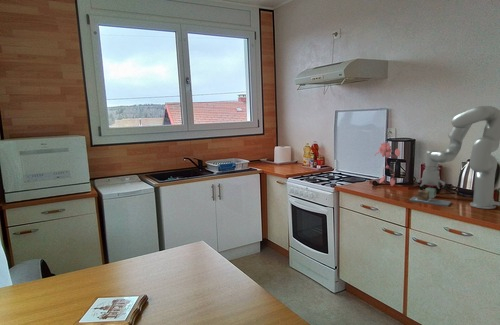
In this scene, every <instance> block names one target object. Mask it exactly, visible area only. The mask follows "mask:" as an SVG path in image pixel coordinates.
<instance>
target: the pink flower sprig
mask: <svg viewBox="0 0 500 325" xmlns="http://www.w3.org/2000/svg"><path fill="white" fill-rule="evenodd" d="M378 149H379V150H377V151H376V153H375V154H374V156H377V155H378V154H379V153H380V154H381V157H382V158H384V157H385V163H386V166H385V167H384V168H383V169H382V172H383V176H382V177H381V178H380V180H379V182H378V184H382V183H383V182H385V183H387V181H386V176H385V172H384V171H385V169H389V170H391V171H393V174H392V175H393V176H392V178H390V180H389V184H390V186H391V187H393V186H396V180H395V178H394V177H395V176H394V175H395V170H394V169H392V168H390V165H388V161H387V159H389V158H390V157H392V158H397V157H399V156H400V155H401V150H400V149H399V148H396V149H395V150H394V154H395V156H394V155H392V154H391V153H392V152H393V149H392V146H391V145H390V142H388V141H387V142H384V141H383V142H381V143H380V146H379V148H378ZM376 187H378V188H380V186H377V185H376ZM384 188H387V187H383V189H384Z"/></svg>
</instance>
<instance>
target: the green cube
mask: <svg viewBox="0 0 500 325" xmlns="http://www.w3.org/2000/svg"><path fill="white" fill-rule="evenodd" d="M424 190H425V191H429V199H435V198H436V196H437V188H434V187H426V188H425V189H424Z"/></svg>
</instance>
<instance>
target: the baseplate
mask: <svg viewBox="0 0 500 325" xmlns="http://www.w3.org/2000/svg"><path fill="white" fill-rule="evenodd" d="M408 202H413V203H418V202H420V203H419V204H426V205H433V206H441V207H447V208H448V207H449V206H450V205H451V204H452V200H451V201H450V200H443V199H436V198H429V199H428V200H427V201H423V200H417V196H412V197H411V198H409V200H408Z"/></svg>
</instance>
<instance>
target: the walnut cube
mask: <svg viewBox="0 0 500 325" xmlns="http://www.w3.org/2000/svg"><path fill="white" fill-rule="evenodd" d="M416 195H417V196H416V197H417V200H423V201H427V200H428V199H430V197H429V191H425V189H423V190H420V189H419V190H418V191H417V194H416Z"/></svg>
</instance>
